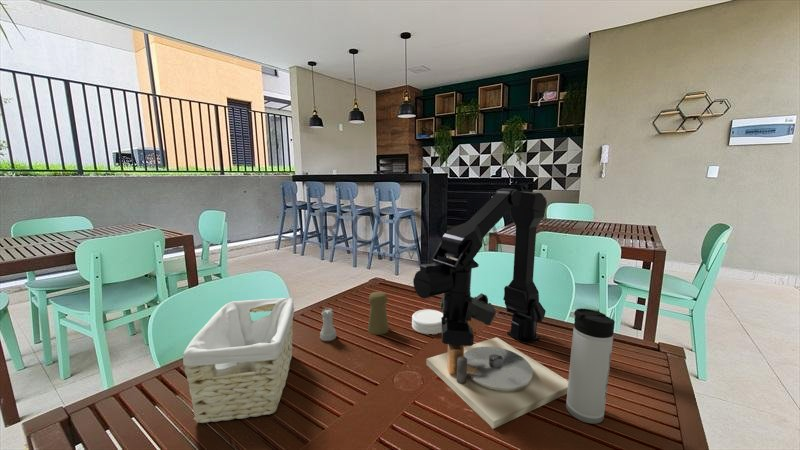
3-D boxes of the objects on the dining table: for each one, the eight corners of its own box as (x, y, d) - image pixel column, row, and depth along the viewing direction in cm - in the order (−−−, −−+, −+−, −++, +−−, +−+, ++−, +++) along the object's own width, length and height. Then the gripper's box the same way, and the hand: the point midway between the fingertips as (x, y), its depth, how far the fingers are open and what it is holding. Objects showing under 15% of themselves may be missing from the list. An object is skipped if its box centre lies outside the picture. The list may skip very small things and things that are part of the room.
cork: (385, 335, 91) (385, 297, 89) (365, 333, 92) (364, 296, 90) (390, 325, 96) (390, 290, 95) (371, 323, 98) (370, 288, 96)
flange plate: (516, 350, 80) (518, 328, 79) (544, 391, 65) (547, 365, 64) (442, 351, 79) (443, 329, 79) (454, 392, 65) (455, 366, 64)
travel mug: (557, 401, 65) (566, 305, 62) (589, 399, 65) (599, 304, 62) (577, 425, 59) (587, 320, 55) (611, 423, 59) (624, 319, 56)
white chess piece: (339, 335, 90) (339, 308, 89) (329, 343, 86) (329, 314, 85) (326, 332, 92) (325, 305, 91) (316, 339, 88) (315, 311, 87)
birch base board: (496, 342, 87) (497, 319, 86) (573, 390, 68) (575, 362, 67) (426, 364, 77) (426, 338, 76) (493, 428, 58) (495, 395, 57)
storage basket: (229, 356, 80) (224, 299, 78) (298, 350, 83) (295, 295, 81) (185, 432, 57) (176, 354, 55) (283, 419, 60) (278, 345, 58)
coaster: (451, 324, 98) (451, 313, 97) (436, 339, 89) (437, 327, 89) (422, 316, 103) (422, 306, 102) (405, 329, 95) (405, 318, 94)
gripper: (502, 309, 63) (496, 381, 66) (487, 276, 81) (483, 334, 84) (444, 305, 64) (440, 376, 67) (442, 273, 82) (439, 331, 85)
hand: (453, 352), depth 76 cm, fingers closed
